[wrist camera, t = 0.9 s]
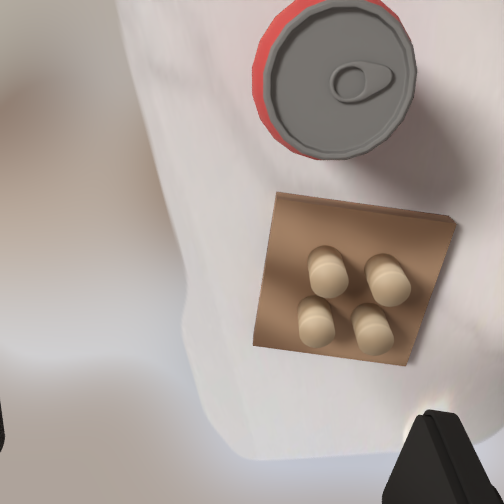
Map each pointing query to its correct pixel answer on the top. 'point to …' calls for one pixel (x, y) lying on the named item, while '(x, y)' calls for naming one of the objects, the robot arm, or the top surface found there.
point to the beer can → (334, 77)
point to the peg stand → (348, 278)
